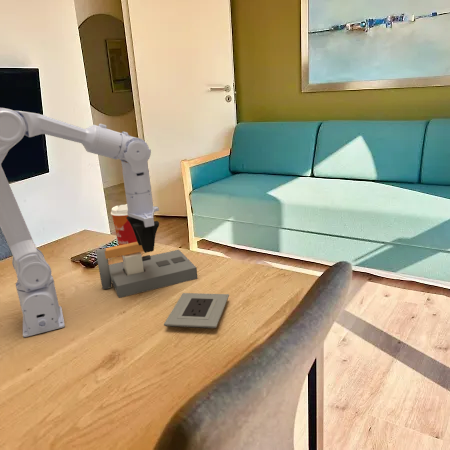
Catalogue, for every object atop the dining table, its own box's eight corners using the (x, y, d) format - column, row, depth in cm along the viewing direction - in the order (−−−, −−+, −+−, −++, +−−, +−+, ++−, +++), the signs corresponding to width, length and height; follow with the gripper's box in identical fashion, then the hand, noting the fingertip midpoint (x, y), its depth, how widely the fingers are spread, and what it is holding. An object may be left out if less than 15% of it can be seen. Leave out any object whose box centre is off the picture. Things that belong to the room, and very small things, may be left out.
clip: (102, 289, 105) (96, 253, 102) (101, 285, 108) (95, 250, 105) (152, 278, 110) (147, 242, 107) (149, 274, 112) (145, 239, 109)
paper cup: (114, 251, 130) (107, 206, 126) (140, 246, 133) (133, 201, 129) (120, 260, 123) (112, 212, 119) (146, 254, 126) (140, 207, 122)
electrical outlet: (216, 335, 84) (215, 324, 84) (164, 333, 87) (163, 322, 86) (229, 302, 97) (228, 293, 96) (183, 301, 99) (182, 291, 98)
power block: (197, 278, 109) (196, 266, 108) (118, 297, 101) (116, 285, 100) (180, 259, 121) (178, 249, 120) (108, 275, 114) (106, 264, 113)
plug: (154, 280, 109) (151, 252, 107) (129, 286, 107) (125, 257, 105) (150, 274, 113) (147, 247, 111) (126, 280, 111) (121, 252, 108)
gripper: (164, 194, 93) (171, 254, 97) (147, 182, 105) (154, 235, 110) (131, 200, 90) (140, 261, 94) (118, 187, 103) (126, 241, 107)
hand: (145, 247), depth 102 cm, fingers open, 5 cm apart
